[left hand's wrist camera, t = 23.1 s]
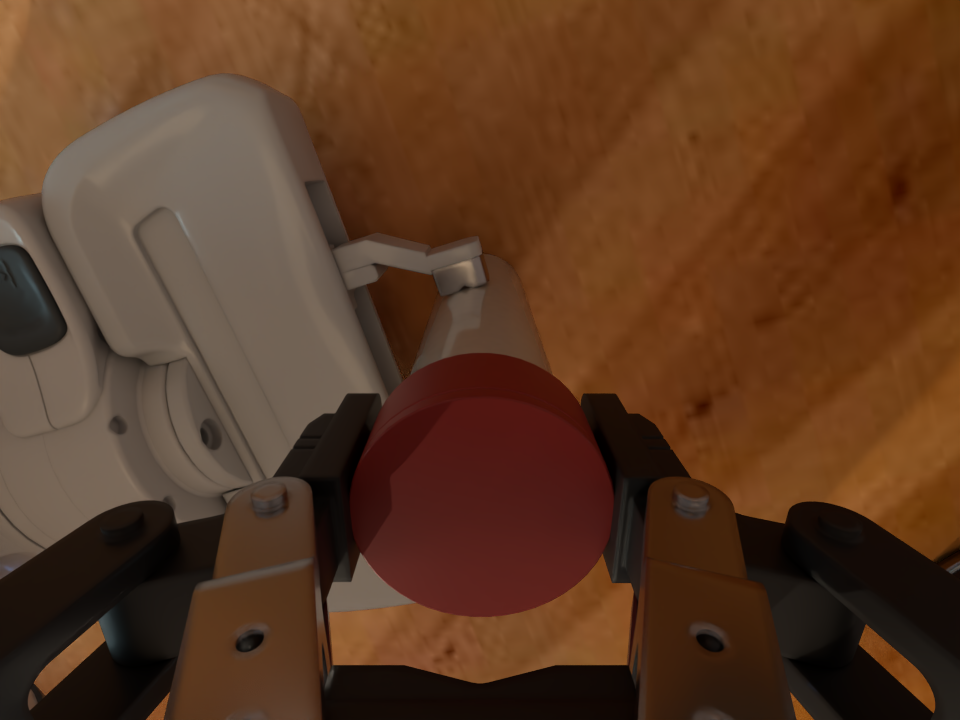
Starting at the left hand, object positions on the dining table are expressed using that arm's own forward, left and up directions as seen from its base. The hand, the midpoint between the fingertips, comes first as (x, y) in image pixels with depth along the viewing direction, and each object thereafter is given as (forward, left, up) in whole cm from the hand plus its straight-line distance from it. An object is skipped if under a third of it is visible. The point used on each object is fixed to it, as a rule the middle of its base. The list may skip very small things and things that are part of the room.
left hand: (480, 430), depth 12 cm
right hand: (-1, 0, -7) cm, 7 cm away
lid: (0, 0, +3) cm, 3 cm away
